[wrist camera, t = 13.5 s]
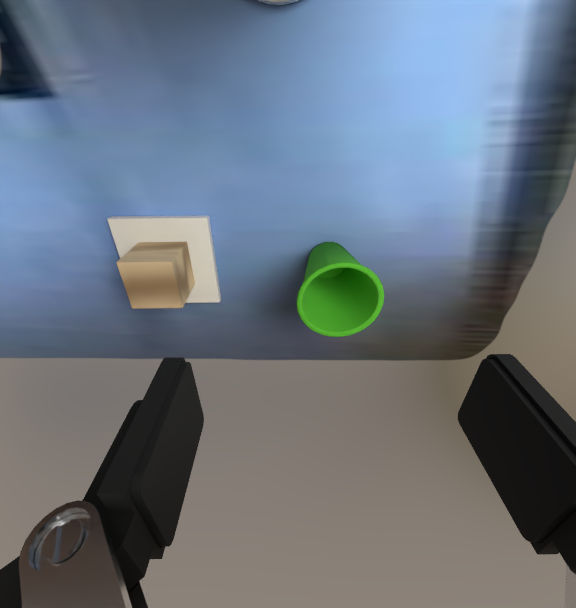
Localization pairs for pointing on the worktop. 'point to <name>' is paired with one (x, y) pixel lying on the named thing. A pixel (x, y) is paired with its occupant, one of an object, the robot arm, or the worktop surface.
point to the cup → (338, 292)
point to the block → (157, 274)
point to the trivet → (174, 230)
